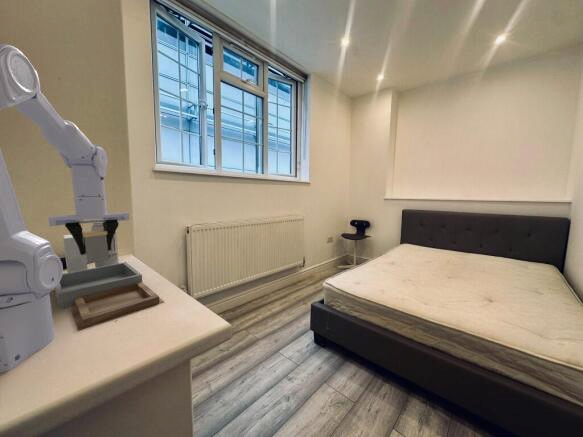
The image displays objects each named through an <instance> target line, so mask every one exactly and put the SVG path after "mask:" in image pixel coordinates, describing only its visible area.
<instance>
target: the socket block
mask: <svg viewBox="0 0 583 437" xmlns="http://www.w3.org/2000/svg"><path fill="white" fill-rule="evenodd" d="M164 303H166V302H165V301H164V300H163V299H162V298H161V297H160V295H158V294H157V293H155V291H154V290H153V289H151V288H150V287H149V286H148V285H146V284H145V283H144V282H143V281H142V282H138V283H134V284H130V285H126V286H122V287H117V288H113V289H109V290H105V291H101V292H97V293H93V294H89V295H85V296H81V297H77V298H75V304H73V305H70V306H69V307H70V310H71V313H72V316H73V318H74V323H75V325H76V327H77V332H78V331H82V330H85V329H89V328H92V327H93V326H97V325H100V324H103V323H106V322H109V321H112V320H116V319H119V318H121V317H125V316H127V315H130V314H134V313H137V312H140V311H143V310H145V309H146V310H147V309H149V308H152V307H156V306H158V305H162V304H164Z"/></svg>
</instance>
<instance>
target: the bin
mask: <svg viewBox="0 0 583 437" xmlns="http://www.w3.org/2000/svg"><path fill="white" fill-rule="evenodd" d="M138 282H143V274H141V272H139V271H138V270H136V269H135V268H134V267H133V266H131V265H130V264H129V263H127V262H126V261H124V262H119V263H118V264H112V265H107V266H102V267H93V268H87V269H86V270H80V271H75V272H70V273H68V272H66V273H64V272H63V274H62V278H61V280H60V282H59V284H58V285H57V286H56V287H55V289H54V292H55V296H56V301H57V306H58V309H62V308H67V307H70V305H73V304H75V298H77V297H81V296H85V295H89V294H93V293H97V292H101V291H105V290H109V289H113V288H117V287H122V286H126V285H130V284H134V283H138Z"/></svg>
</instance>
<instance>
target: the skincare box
mask: <svg viewBox="0 0 583 437" xmlns="http://www.w3.org/2000/svg"><path fill="white" fill-rule="evenodd" d="M62 237H63V238H62V239H63V246H64V255H65V263H66V265H65V266H66V270H67V271H66V273H70V272H75V271H80V270H86V269H88V263H87V262H86V261H85V255H81V254H80V251H79V248H78V245H77V243H76V241H75V240H74V238H73V236H72V235H71V234H66V235H65V234H64V235H63V236H62Z"/></svg>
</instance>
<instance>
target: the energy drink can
mask: <svg viewBox="0 0 583 437" xmlns="http://www.w3.org/2000/svg"><path fill="white" fill-rule="evenodd" d="M90 229H91V230H90V231H98V230H104V228H103V222H94V223H92V226H91V228H90ZM108 254H109V260H104V261H98V262H94V268H96V267H102V266H107V265H112V264H118V263H120V262H119V260H120V259H119V249H118V238H117V230H116V231H115V233H114V236H113V239H112V243H111V249H110V251H108Z"/></svg>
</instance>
